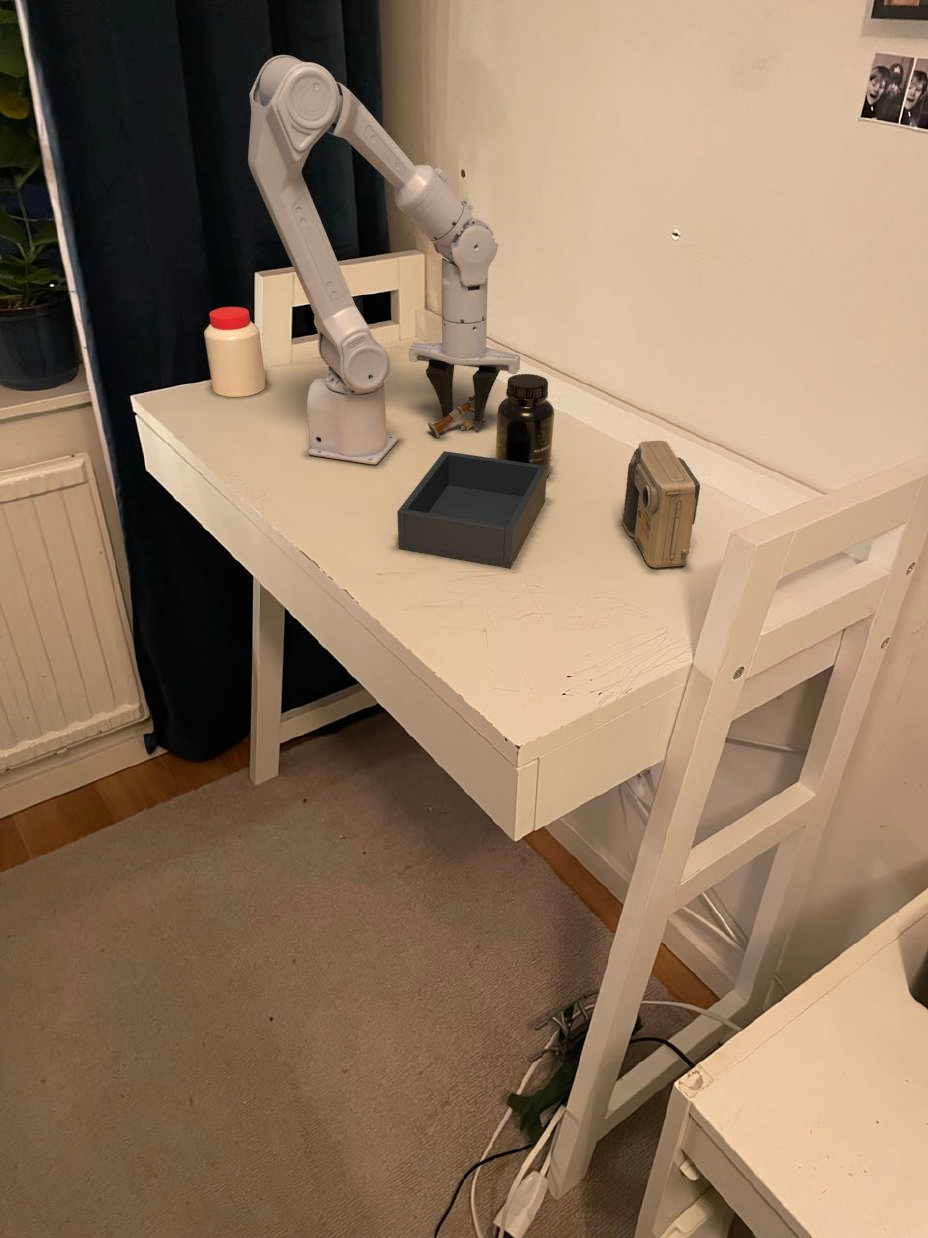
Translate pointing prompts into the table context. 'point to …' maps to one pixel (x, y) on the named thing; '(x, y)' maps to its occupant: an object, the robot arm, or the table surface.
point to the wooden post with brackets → (455, 418)
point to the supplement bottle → (525, 421)
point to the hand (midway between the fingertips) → (463, 417)
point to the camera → (660, 504)
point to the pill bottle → (234, 353)
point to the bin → (473, 509)
